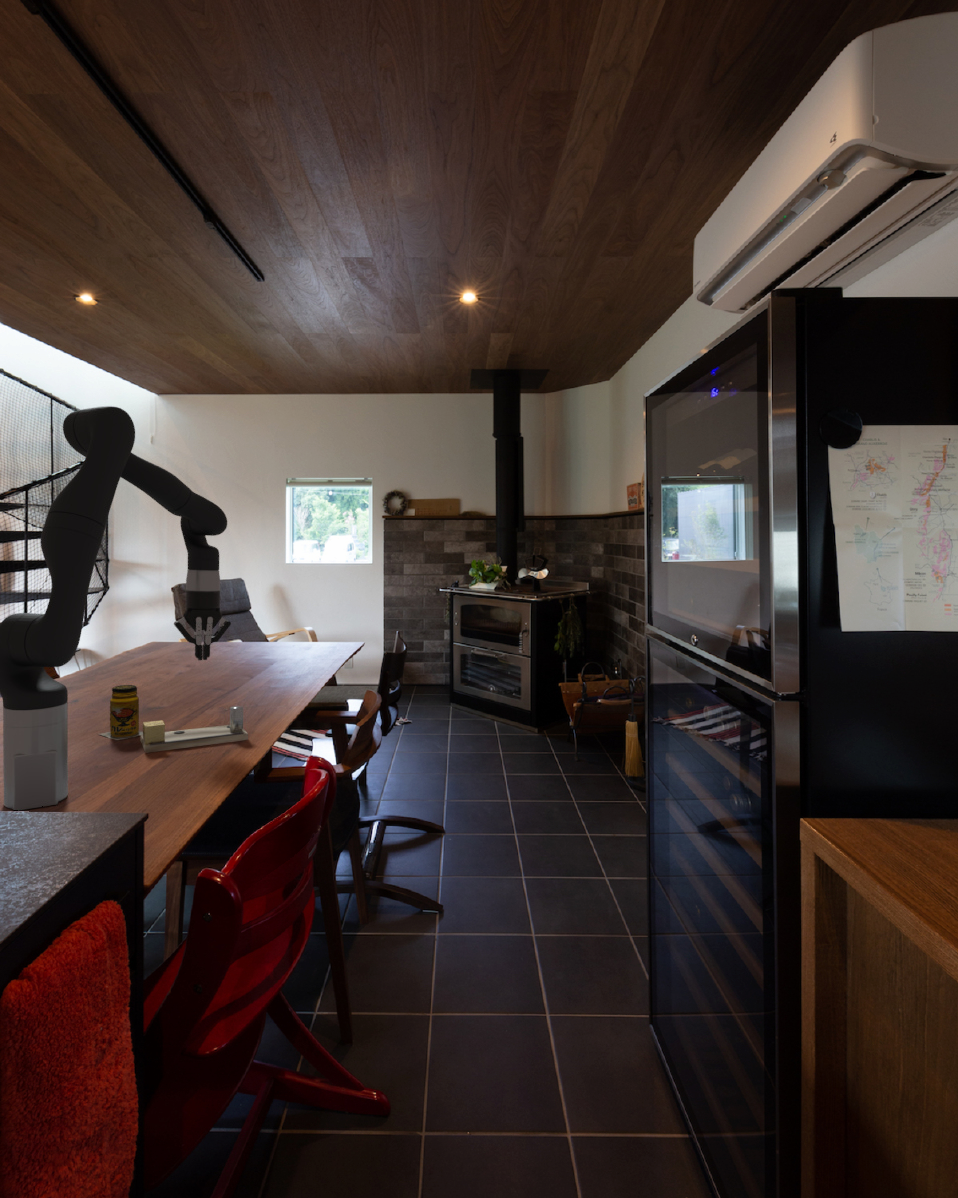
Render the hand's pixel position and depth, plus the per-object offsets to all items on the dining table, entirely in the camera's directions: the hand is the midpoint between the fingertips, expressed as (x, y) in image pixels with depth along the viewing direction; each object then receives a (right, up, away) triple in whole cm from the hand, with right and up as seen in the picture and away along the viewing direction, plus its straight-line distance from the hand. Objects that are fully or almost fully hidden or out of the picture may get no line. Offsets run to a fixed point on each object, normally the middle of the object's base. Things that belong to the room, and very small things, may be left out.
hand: (202, 659), depth 148 cm
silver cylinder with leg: (+7, -18, +2) cm, 19 cm away
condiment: (-20, -19, 0) cm, 27 cm away
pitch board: (-1, -19, -2) cm, 19 cm away
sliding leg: (-8, -18, -8) cm, 21 cm away
